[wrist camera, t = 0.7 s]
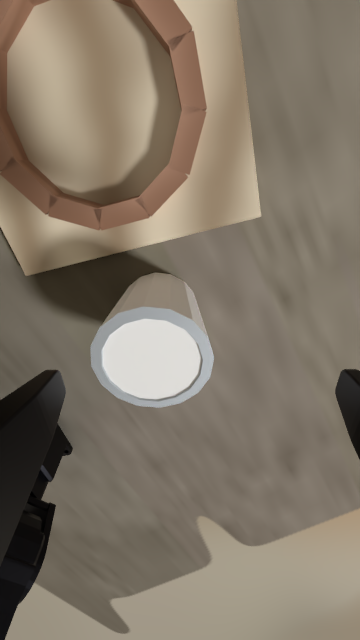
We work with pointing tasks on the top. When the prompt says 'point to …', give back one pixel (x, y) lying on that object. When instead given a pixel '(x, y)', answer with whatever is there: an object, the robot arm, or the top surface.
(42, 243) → the collar board
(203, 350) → the white cylinder
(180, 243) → the top surface
